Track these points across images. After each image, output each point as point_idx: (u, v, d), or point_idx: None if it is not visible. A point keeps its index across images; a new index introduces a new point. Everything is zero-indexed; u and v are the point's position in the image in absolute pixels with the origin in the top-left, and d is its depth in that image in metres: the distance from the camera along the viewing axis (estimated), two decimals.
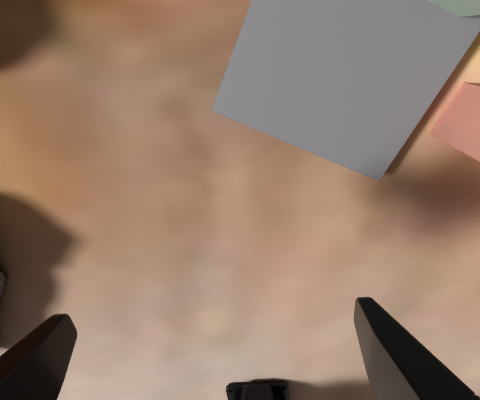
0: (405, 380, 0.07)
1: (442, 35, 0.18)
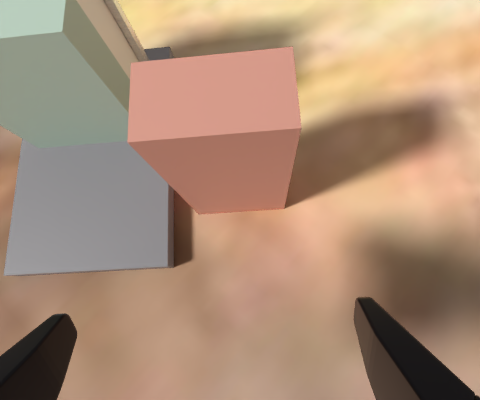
0: (405, 380, 0.07)
1: None
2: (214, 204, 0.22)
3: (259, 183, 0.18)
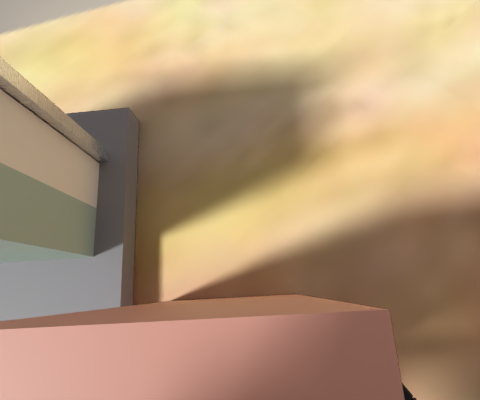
0: None
1: (87, 278, 0.16)
2: None
3: None
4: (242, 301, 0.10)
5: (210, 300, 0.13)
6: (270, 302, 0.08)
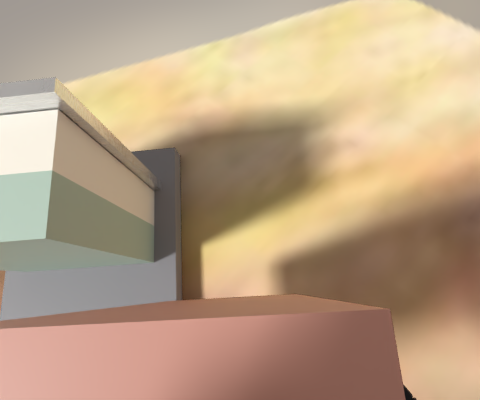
0: None
1: (150, 278, 0.21)
2: None
3: None
4: (242, 301, 0.10)
5: (210, 300, 0.13)
6: (270, 302, 0.08)
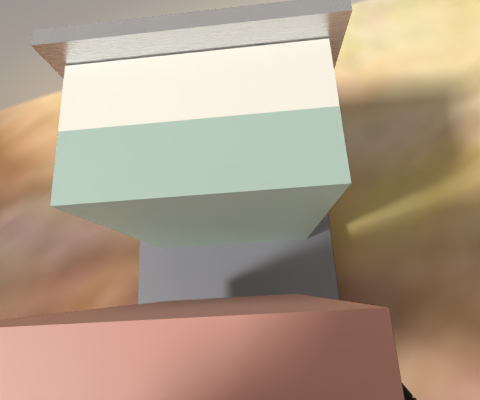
0: None
1: (304, 256, 0.20)
2: None
3: None
4: (242, 300, 0.10)
5: None
6: (270, 301, 0.08)
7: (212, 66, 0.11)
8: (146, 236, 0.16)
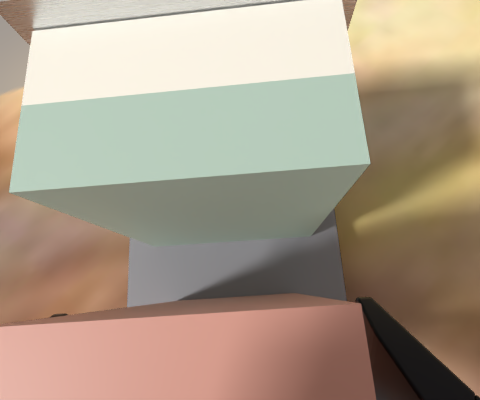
0: (405, 380, 0.07)
1: (309, 255, 0.18)
2: None
3: None
4: None
5: (215, 299, 0.14)
6: (270, 300, 0.09)
7: (203, 29, 0.09)
8: (133, 232, 0.14)
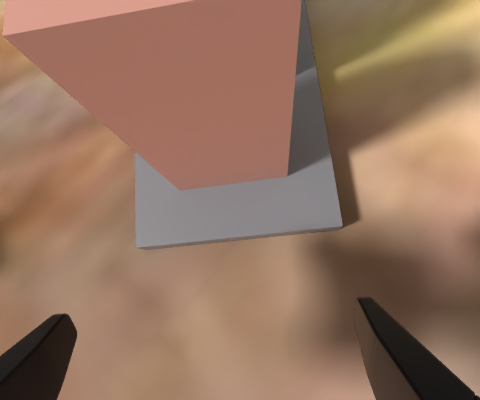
0: (405, 380, 0.07)
1: None
2: (195, 173, 0.17)
3: (248, 129, 0.13)
4: None
5: None
6: None
7: None
8: None
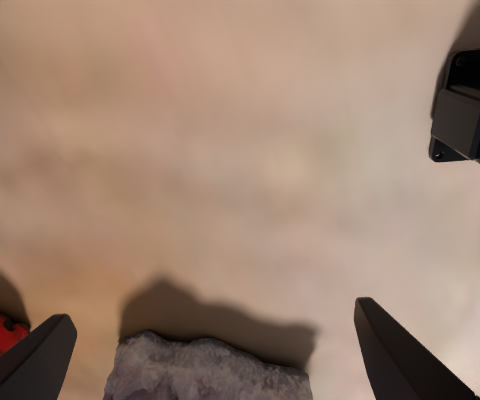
0: (405, 380, 0.07)
1: None
2: None
3: None
4: None
5: None
6: None
7: None
8: None
